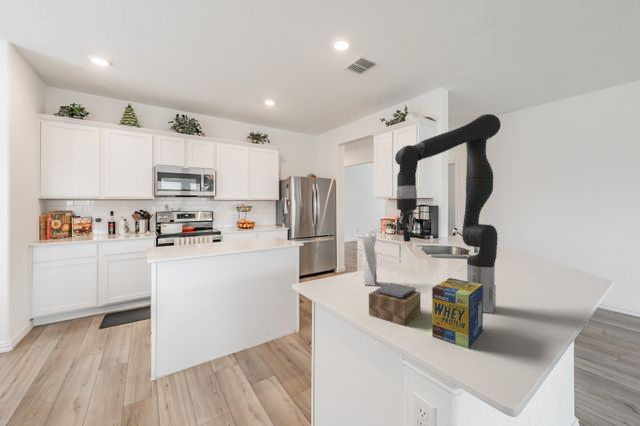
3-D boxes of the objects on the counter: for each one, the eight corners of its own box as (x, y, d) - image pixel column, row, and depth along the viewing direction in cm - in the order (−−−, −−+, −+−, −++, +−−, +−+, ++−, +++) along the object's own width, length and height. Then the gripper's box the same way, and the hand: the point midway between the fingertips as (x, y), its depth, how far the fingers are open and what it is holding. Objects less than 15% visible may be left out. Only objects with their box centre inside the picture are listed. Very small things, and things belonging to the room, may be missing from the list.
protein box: (431, 336, 81) (431, 287, 81) (449, 321, 92) (449, 277, 91) (468, 349, 73) (468, 295, 73) (483, 331, 84) (483, 283, 84)
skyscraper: (379, 286, 132) (379, 231, 131) (363, 286, 132) (363, 231, 131) (376, 282, 140) (376, 230, 140) (361, 282, 140) (360, 230, 140)
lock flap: (391, 285, 107) (391, 283, 107) (415, 290, 100) (415, 287, 100) (376, 291, 98) (376, 289, 98) (401, 297, 91) (401, 295, 91)
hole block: (420, 313, 99) (420, 292, 98) (404, 326, 88) (404, 302, 88) (386, 304, 108) (386, 285, 108) (368, 314, 98) (368, 293, 97)
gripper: (408, 197, 96) (409, 244, 96) (422, 197, 105) (422, 240, 106) (390, 197, 101) (390, 242, 101) (404, 198, 110) (405, 238, 111)
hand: (407, 241), depth 103 cm, fingers closed
